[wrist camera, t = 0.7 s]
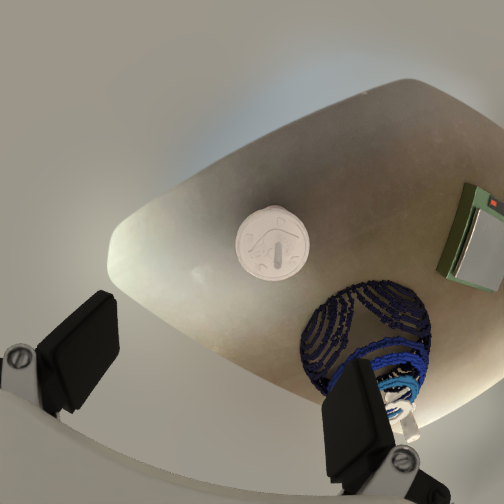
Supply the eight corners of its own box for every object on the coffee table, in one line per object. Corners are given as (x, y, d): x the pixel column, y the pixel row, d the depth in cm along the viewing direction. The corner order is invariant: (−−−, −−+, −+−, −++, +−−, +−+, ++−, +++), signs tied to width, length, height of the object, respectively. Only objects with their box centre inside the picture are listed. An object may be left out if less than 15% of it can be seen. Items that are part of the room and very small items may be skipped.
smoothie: (309, 235, 32) (327, 291, 19) (259, 253, 33) (246, 318, 20) (290, 185, 30) (297, 208, 17) (238, 205, 32) (208, 243, 18)
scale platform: (476, 206, 25) (480, 208, 24) (516, 231, 24) (519, 232, 24) (452, 275, 28) (454, 277, 27) (494, 289, 28) (497, 291, 27)
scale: (464, 182, 27) (479, 186, 24) (509, 210, 27) (522, 216, 23) (436, 269, 31) (447, 280, 28) (482, 284, 31) (493, 294, 28)
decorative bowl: (379, 392, 40) (396, 455, 27) (279, 370, 40) (276, 446, 26) (445, 304, 33) (492, 362, 20) (341, 260, 33) (374, 328, 19)
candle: (379, 397, 41) (393, 448, 29) (400, 380, 39) (419, 430, 28) (394, 403, 41) (409, 450, 30) (415, 387, 39) (433, 434, 28)
